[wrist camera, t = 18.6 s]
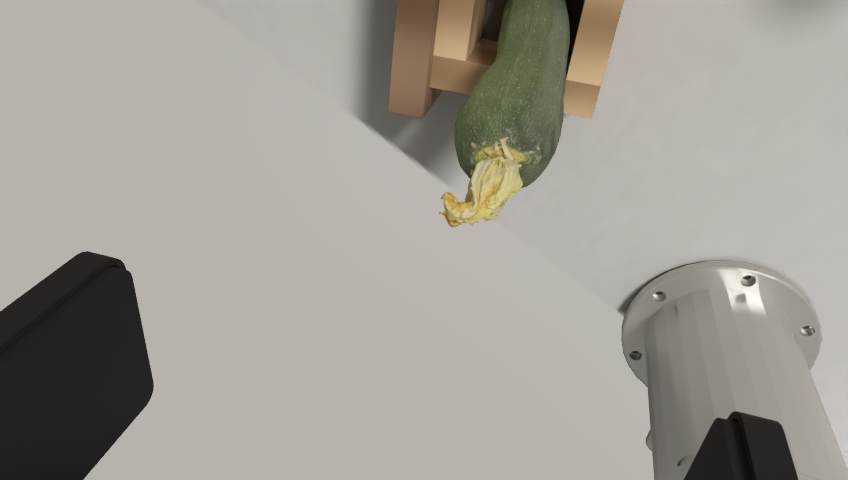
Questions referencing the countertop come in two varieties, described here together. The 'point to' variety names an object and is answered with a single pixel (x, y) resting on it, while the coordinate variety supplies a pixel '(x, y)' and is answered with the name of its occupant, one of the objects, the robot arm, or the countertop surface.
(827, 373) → the countertop surface
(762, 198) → the countertop surface
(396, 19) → the wall
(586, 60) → the socket block
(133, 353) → the robot arm
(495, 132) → the vegetable
